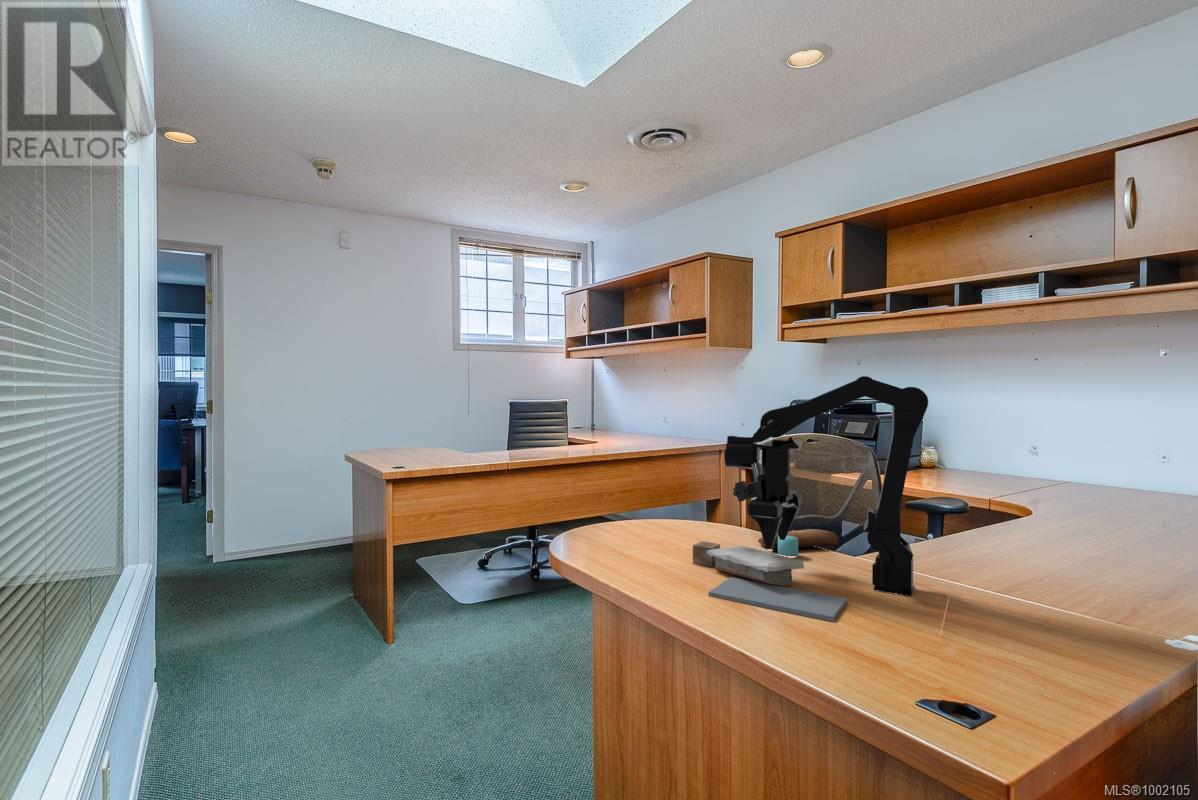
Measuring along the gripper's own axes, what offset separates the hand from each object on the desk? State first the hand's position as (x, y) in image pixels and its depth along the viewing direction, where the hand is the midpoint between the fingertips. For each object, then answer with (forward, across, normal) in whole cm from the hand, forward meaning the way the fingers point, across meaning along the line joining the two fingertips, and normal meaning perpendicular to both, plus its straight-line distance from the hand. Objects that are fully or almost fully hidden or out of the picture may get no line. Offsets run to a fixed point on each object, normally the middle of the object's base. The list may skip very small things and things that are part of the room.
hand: (775, 544), depth 123 cm
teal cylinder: (+6, -16, -2) cm, 17 cm away
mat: (+6, +15, +5) cm, 17 cm away
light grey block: (+4, +1, -1) cm, 4 cm away
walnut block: (+6, +1, -15) cm, 16 cm away
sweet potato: (+7, -26, -4) cm, 28 cm away
